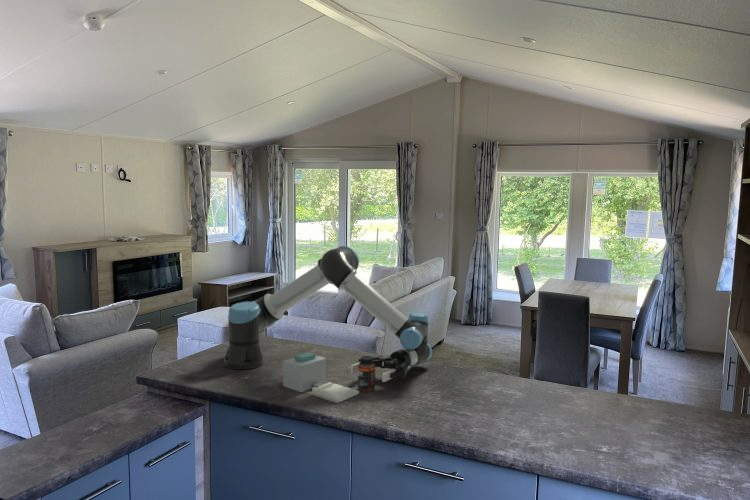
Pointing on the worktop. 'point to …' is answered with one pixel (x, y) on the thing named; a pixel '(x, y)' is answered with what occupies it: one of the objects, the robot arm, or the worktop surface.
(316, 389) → the white two-part device
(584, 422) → the worktop surface
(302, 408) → the worktop surface
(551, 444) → the worktop surface
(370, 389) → the supplement bottle
